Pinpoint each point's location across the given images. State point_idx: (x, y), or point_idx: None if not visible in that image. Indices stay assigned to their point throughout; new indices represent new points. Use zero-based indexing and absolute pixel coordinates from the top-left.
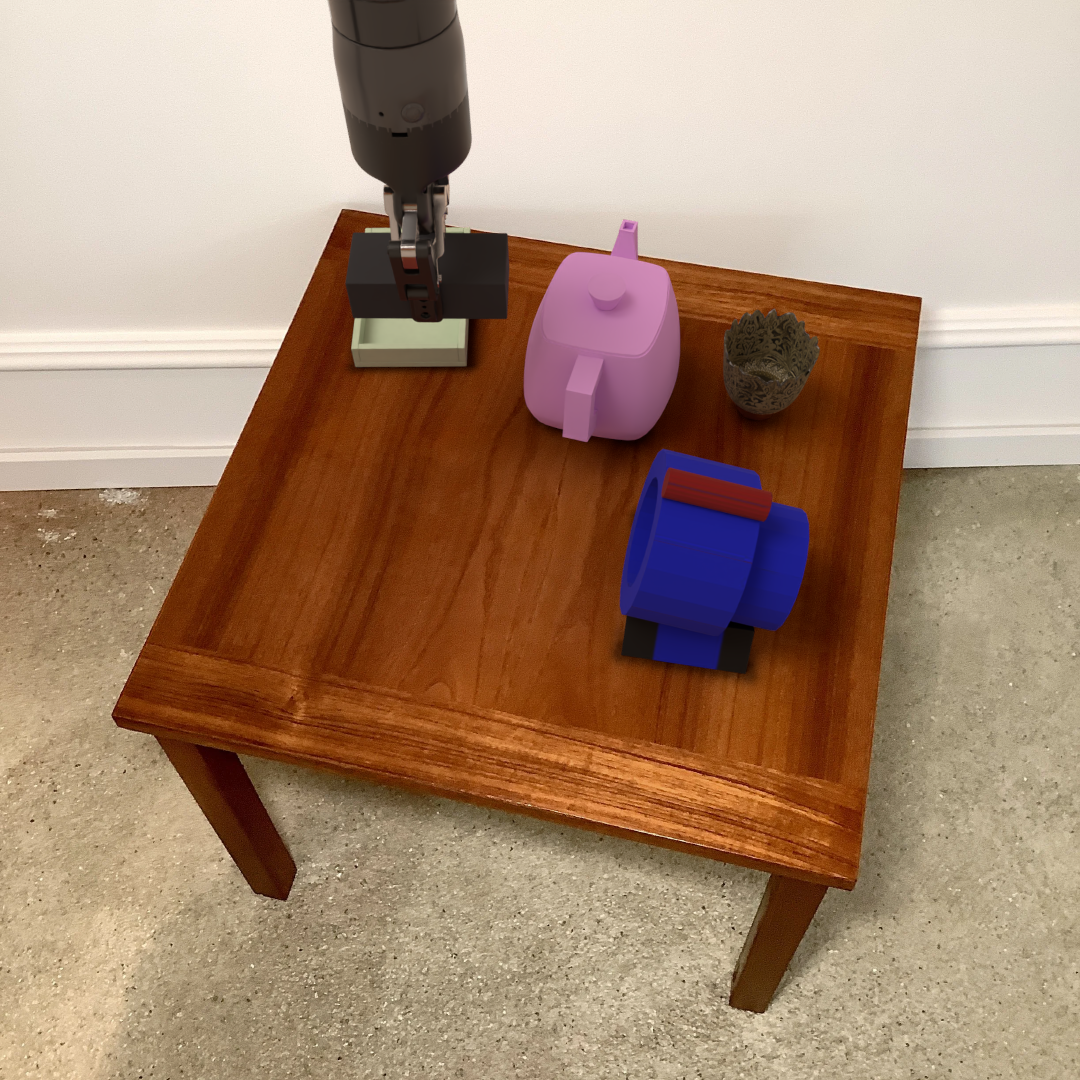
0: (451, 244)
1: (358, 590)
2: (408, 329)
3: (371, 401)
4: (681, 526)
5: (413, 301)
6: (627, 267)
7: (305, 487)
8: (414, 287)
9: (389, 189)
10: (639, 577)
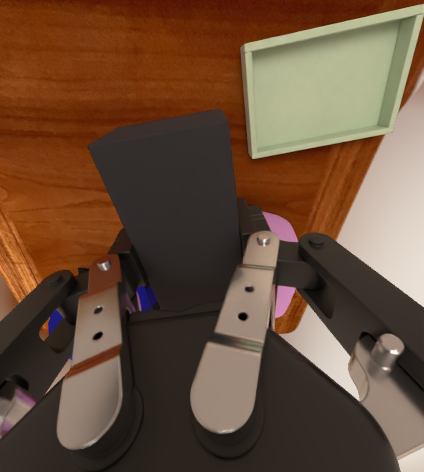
0: (221, 274)
1: (31, 120)
2: (282, 95)
3: (203, 77)
4: (70, 358)
5: (110, 250)
6: (281, 300)
7: (95, 35)
8: (56, 309)
9: (78, 453)
10: (59, 320)
